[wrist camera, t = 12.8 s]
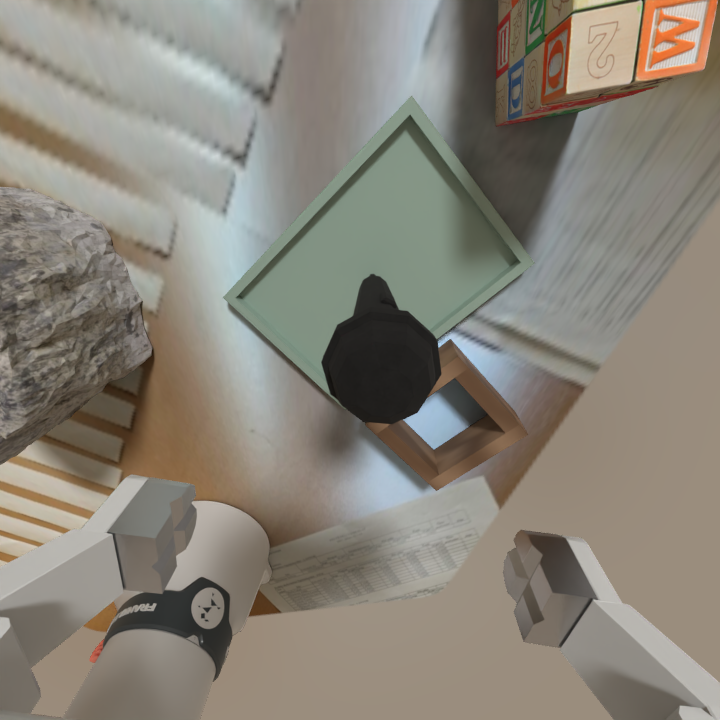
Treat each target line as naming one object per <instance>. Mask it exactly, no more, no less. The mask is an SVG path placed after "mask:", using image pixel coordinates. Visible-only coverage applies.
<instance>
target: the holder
mask: <svg viewBox="0 0 720 720" xmlns="http://www.w3.org/2000/svg"><path fill="white" fill-rule="evenodd" d="M438 350H439V358H440V365H441V373H442V374H441V376H440V378H439V379H438V381H437V382H436V384H435V386H434V387H433V389H432V390H431V392H430V394H429V395H428V397H429V396H430V395H432V394H433V393H434V392H436V391H437V390H439V389H440V388H441V387H443V386H444V385H445V384H447V383H448V382H450V381H451V380H452V379H454V378H455V379H456V380H457V381H458V382H459V383H460V384H461V385H462V386H463V387H464V388H465V389H466V391H467V392H468V393H469V394H470V395H471V396H472V397H473V398H474V399H475V400H476V401H477V403H478V404H479V405H480V406H481V407H482V408H483V409H484V410H485V411H486V412H487V413H488V415H486V416H485V417H483V418H482V419H480V420H479V421H477V422H476V423H474V424H473V425H471V426H470V427H468V428H467V429H465V430H464V431H462V432H461V433H459V434H458V435H456V436H455V437H453V438H451V439H450V440H448V441H447V442H445V443H444V444H442V445H441V446H439V447H438V448H436V449H435V450H433V449H432V448H431V447H430V446H429V445H428V444H427V443H426V442H425V441H424V440H423V439H422V438H421V437H420V436H419V435H418V434H417V433H416V432H415V431H414V430H413V429H412V428H411V427H410V426H409V425H408V424H406V423H405V422H404V421H403V420H400V421H398V422H396V423H394V424H382V423H371V422H365V425H366V426H367V427H368V428H369V429H370V430H371V431H372V432H373V433H374V434H375V435H376V436H378V437H379V438H380V439H381V440H382V441H383V442H384V443H385V444H386V445H387V446H388V447H389V448H391V449H392V450H393V451H394V452H395V453H396V454H397V455H398V456H399V457H400V458H401V459H402V460H404V461H405V462H406V463H407V464H408V465H409V466H410V467H411V468H412V469H413V470H414V471H415V472H417V473H418V474H419V475H420V476H421V477H422V478H423V479H424V480H425V481H426V482H427V483H428V484H430V485H431V486H432V487H433V488H434V489H435V490H436V491H437V490H439V489H440V488H442V487H444V486H445V485H447V484H448V483H450V482H452V481H453V480H455V479H457V478H458V477H460V476H461V475H463V474H465V473H466V472H468V471H470V470H471V469H473V468H475V467H476V466H478V465H479V464H481V463H483V462H484V461H486V460H488V459H489V458H491V457H492V456H494V455H496V454H497V453H499V452H501V451H502V450H504V449H506V448H507V447H509V446H510V445H512V444H514V443H515V442H517V441H519V440H520V439H522V438H523V437H525V436H527V435H528V433H527V431H526V430H525V428H524V426H523V425H522V423H521V421H520V420H519V418H518V416H517V414H516V413H515V411H514V410H513V409H512V408H511V407H510V406H509V404H508V403H507V402H506V401H505V400H504V399H503V398H502V396H501V395H500V394H499V393H498V392H497V391H496V390H495V389H494V387H493V386H492V385H491V384H490V383H489V382H488V381H487V380H486V378H485V377H484V376H483V375H482V374H481V373H480V372H479V371H478V369H477V368H476V367H475V366H474V365H473V364H472V363H471V362H470V360H469V359H468V358H467V357H466V356H465V355H464V354H463V353H462V351H461V350H460V349H459V348H458V347H457V346H456V345H455V344H454V342H453V341H452V340H451V339H450V340H448V341H447V342H446V343H445V344H443V345H442V346H441V347H439V348H438Z"/></svg>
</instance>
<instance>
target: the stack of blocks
mask: <svg viewBox="0 0 720 720" xmlns="http://www.w3.org/2000/svg"><path fill="white" fill-rule="evenodd" d="M717 3H718V0H498V27H497V67H496V108H495V124H496V126H501V125H507V124H513V123H519V122H525V121H530V120H535V119H538V118H544V117H550V116H556V115H562V114H568V113H575V112H580V111H583V110H586V109H589V108H591V107H594V106H597V105H600V104H603V103H607V102H610V101H613V100H616V99H619V98H622V97H626V96H630V95H634V94H637V93H639V92H643V91H646V90H648V89H652V88H655V87H658V86H659V85H660V84H663V83H666V82H669V81H672V80H675V79H678V78H681V77H684V76H687V75H690V74H693V73H696V72H699V71H702V70H703V69H704V68H705V64H706V59H707V54H708V49H709V44H710V39H711V33H712V28H713V23H714V19H715V15H716V8H717Z"/></svg>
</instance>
